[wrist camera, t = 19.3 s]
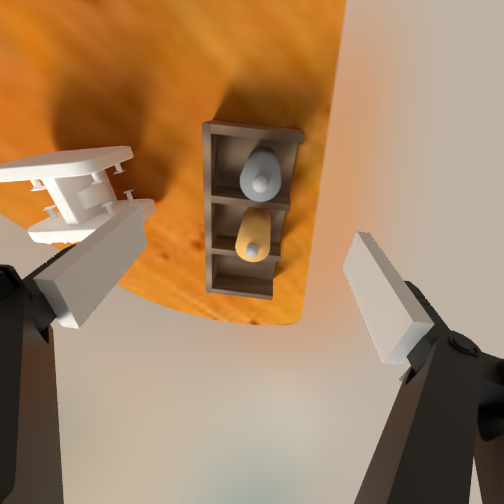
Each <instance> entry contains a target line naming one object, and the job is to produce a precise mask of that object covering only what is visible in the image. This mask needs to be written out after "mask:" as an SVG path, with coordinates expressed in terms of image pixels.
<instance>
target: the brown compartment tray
mask: <svg viewBox="0 0 504 504" xmlns="http://www.w3.org/2000/svg"><path fill="white" fill-rule="evenodd" d="M202 138H203V178H204V218H205V258H206V292H209V293H217V294H225V295H234V296H242V297H250V298H258V299H267V300H272V298H273V276H274V271H275V265H276V261H279V262H280V257H281V256H280V238H281V233H282V227H283V222H284V217H285V211H289V210H290V205H291V204H290V198H289V189H290V184H291V179H292V173H293V168H294V162H295V157H296V152H297V146H298V143H300V144H303V139H304V134H303V133H302V131H301V130H300V129H291V128H282V127H273V126H264V125H255V124H246V123H237V122H228V121H219V120H210V121H207V122H204V123H202ZM259 147H268V148H270V149H272V150H273V151H274V152H275V153H276V154H277V156H278V159H279V165H280V174H281V186H280V189H279V191H278V193H277V194H276V195H275V196H274V197H273V198H272V199H270V200H268V201H264V202H257V201H253V200H251V199H249V198H248V197H247V196H246V195H245V194H244V193H243V191H242V189H241V186H240V176H241V173H242V171H243V168H244V166H245V164H246V162H247V159H248V157H249V155H250V154H251V152H252V151H253V150H255V149H256V148H259ZM250 207H255V208H264V209H266V210H267V211H268V212H269V214H270V216H271V232H270V251H269V254H268V256H267V257H266V258H265V259H263V260H261V261H258V262H249V261H246V260H244V259H242V258H241V257H240V256H239V255H238V254H237V252H236V248H235V245H236V241H237V237H238V233H239V230H240V226H241V223H242V219H243V216H244V213H245V211H246V210H247V209H249V208H250Z"/></svg>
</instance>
